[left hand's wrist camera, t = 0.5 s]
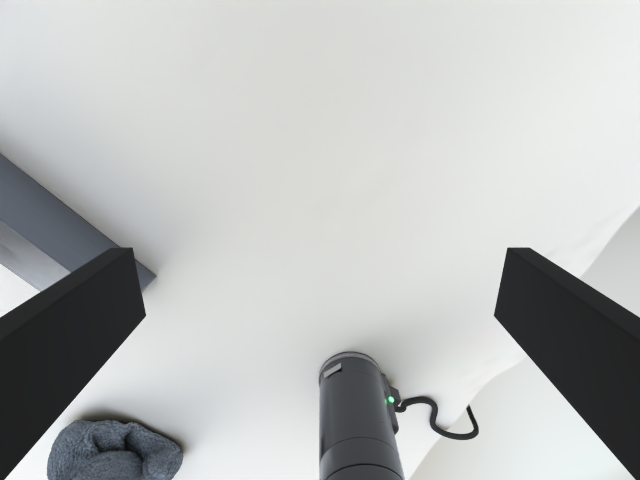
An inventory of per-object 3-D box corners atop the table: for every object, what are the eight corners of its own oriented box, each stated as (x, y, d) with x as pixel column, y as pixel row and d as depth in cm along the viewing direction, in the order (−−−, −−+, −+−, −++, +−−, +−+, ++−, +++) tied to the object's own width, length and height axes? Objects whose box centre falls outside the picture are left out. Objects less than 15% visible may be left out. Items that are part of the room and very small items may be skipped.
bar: (-53, 153, 41) (-145, 162, 33) (-36, 125, 40) (-126, 128, 32) (137, 296, 48) (100, 333, 39) (156, 276, 46) (122, 310, 38)
